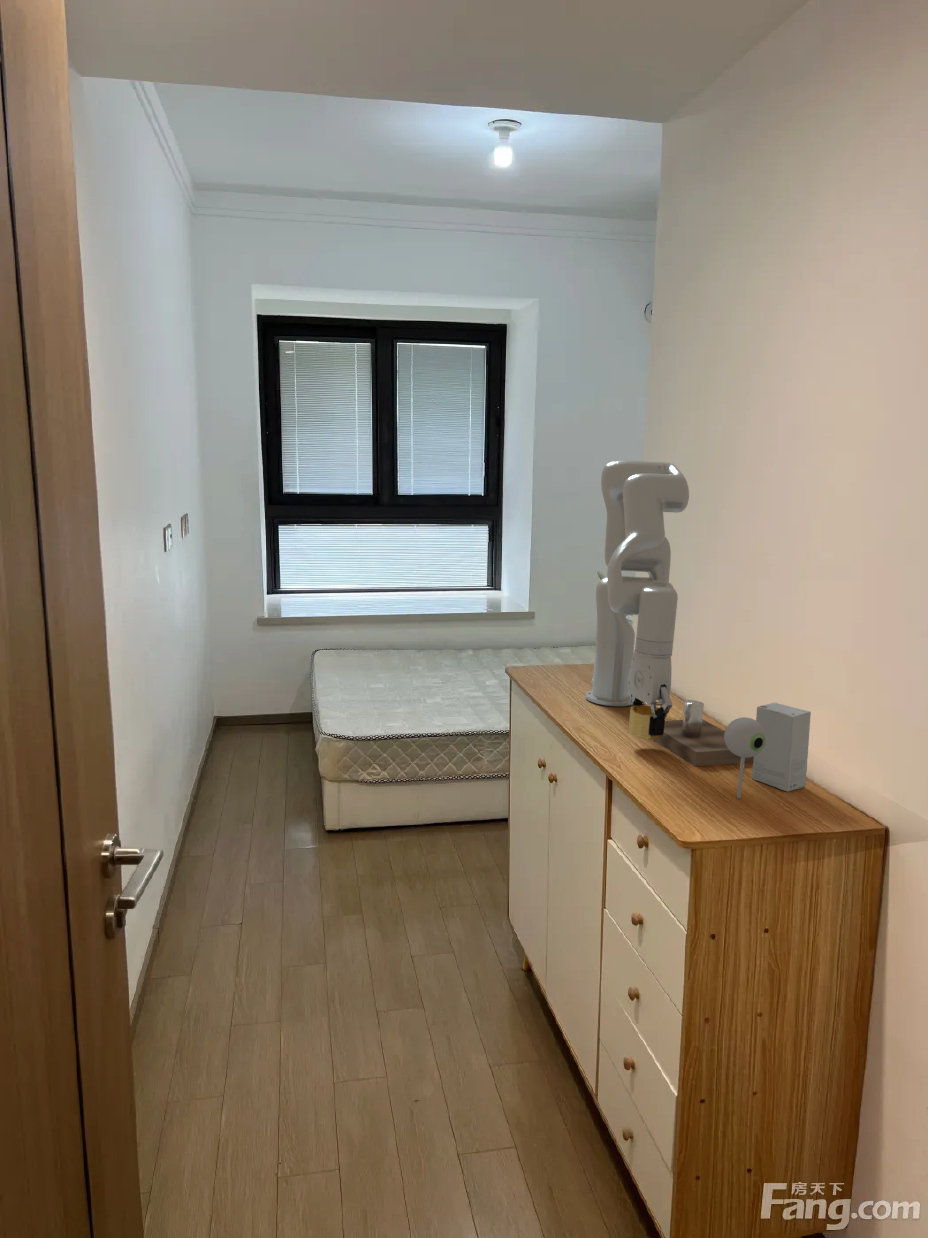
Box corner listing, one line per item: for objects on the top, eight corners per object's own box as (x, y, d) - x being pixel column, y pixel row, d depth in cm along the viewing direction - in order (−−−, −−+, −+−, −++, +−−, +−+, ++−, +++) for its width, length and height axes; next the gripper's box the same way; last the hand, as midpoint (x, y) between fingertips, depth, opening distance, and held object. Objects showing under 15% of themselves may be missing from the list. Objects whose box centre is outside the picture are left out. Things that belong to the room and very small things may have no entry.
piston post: (677, 732, 179) (680, 700, 178) (694, 731, 180) (697, 700, 179) (687, 738, 175) (690, 706, 174) (704, 737, 176) (707, 705, 175)
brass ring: (622, 728, 179) (624, 705, 178) (652, 726, 181) (654, 704, 180) (638, 740, 172) (640, 716, 171) (669, 737, 174) (672, 715, 173)
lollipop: (736, 807, 147) (745, 725, 145) (709, 792, 154) (717, 714, 151) (767, 802, 150) (777, 722, 148) (740, 788, 157) (748, 711, 154)
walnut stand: (645, 734, 186) (646, 721, 186) (700, 731, 190) (701, 718, 190) (694, 766, 167) (696, 752, 167) (754, 762, 171) (756, 748, 171)
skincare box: (805, 787, 158) (815, 712, 156) (785, 793, 155) (795, 716, 152) (768, 773, 165) (776, 700, 163) (748, 778, 162) (756, 704, 159)
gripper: (618, 637, 179) (611, 716, 183) (659, 658, 163) (650, 744, 167) (649, 636, 182) (642, 714, 185) (692, 656, 165) (684, 742, 169)
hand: (646, 728), depth 176 cm, fingers closed on brass ring, 7 cm apart
